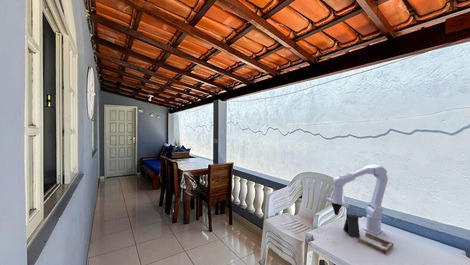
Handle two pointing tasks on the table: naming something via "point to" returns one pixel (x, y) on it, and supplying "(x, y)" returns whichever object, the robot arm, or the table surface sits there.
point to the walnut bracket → (385, 250)
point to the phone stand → (352, 226)
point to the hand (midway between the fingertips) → (336, 214)
